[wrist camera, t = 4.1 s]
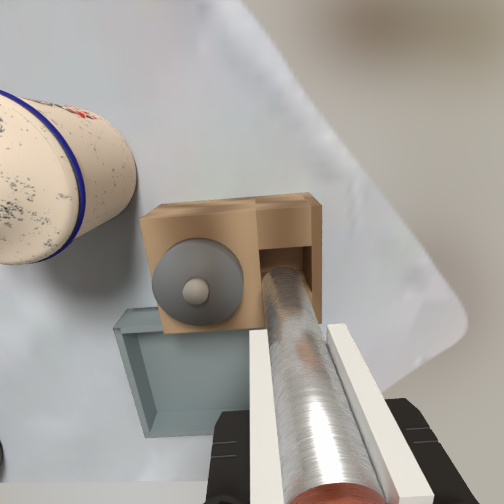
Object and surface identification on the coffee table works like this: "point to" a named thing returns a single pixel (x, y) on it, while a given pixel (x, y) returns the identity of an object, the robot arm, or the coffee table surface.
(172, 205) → the tan wooden block
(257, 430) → the robot arm
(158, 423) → the tray
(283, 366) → the pin
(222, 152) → the coffee table surface
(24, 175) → the teacup with lid
